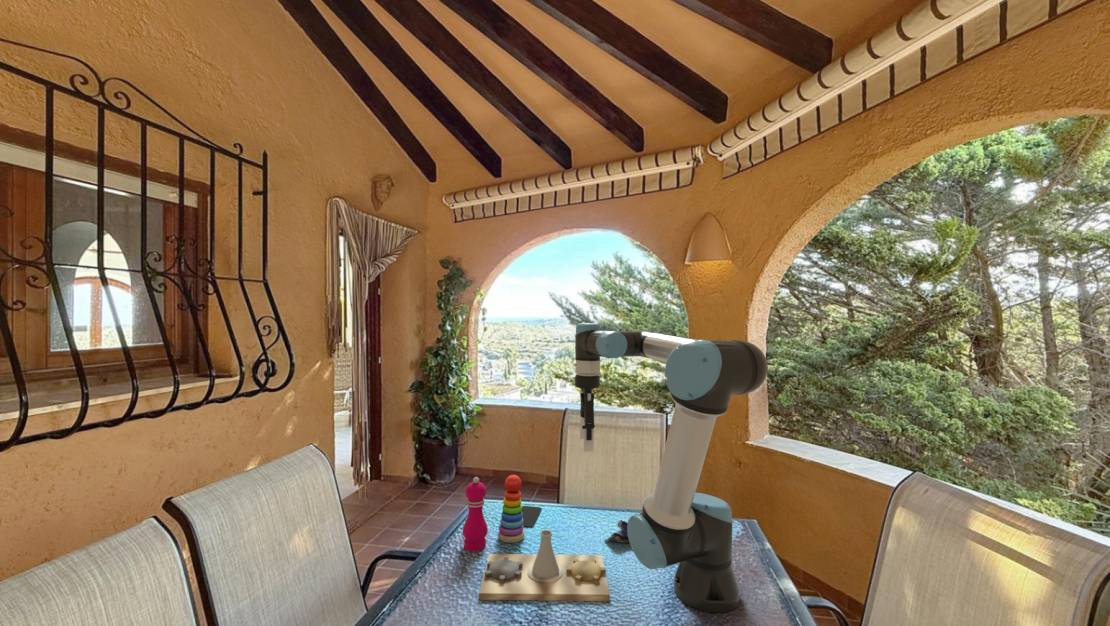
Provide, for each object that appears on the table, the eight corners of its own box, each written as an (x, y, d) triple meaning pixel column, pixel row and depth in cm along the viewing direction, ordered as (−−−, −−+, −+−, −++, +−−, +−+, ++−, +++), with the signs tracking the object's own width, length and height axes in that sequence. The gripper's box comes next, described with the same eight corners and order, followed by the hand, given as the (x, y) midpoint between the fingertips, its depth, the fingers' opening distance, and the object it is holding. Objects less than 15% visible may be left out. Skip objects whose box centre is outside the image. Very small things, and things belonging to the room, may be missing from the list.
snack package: (607, 530, 145) (602, 546, 133) (611, 510, 145) (606, 525, 133) (645, 541, 142) (643, 559, 130) (649, 521, 142) (647, 537, 130)
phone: (510, 524, 146) (521, 505, 161) (510, 527, 146) (521, 507, 161) (533, 526, 145) (542, 507, 159) (533, 529, 145) (542, 509, 159)
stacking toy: (520, 545, 133) (521, 481, 133) (494, 542, 135) (495, 479, 135) (527, 533, 141) (528, 472, 141) (502, 530, 142) (503, 470, 143)
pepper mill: (490, 549, 130) (491, 479, 131) (464, 554, 128) (466, 482, 128) (484, 538, 137) (485, 471, 137) (460, 542, 134) (461, 474, 135)
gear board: (601, 560, 125) (601, 550, 125) (609, 601, 107) (609, 589, 107) (489, 559, 125) (489, 549, 125) (478, 599, 107) (478, 588, 107)
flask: (535, 581, 112) (536, 541, 112) (528, 566, 119) (528, 528, 119) (563, 577, 114) (564, 536, 114) (554, 562, 121) (555, 524, 121)
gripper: (572, 369, 150) (571, 433, 150) (577, 379, 125) (576, 456, 125) (595, 369, 150) (594, 434, 150) (604, 379, 125) (603, 457, 125)
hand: (586, 444), depth 137 cm, fingers open, 13 cm apart
